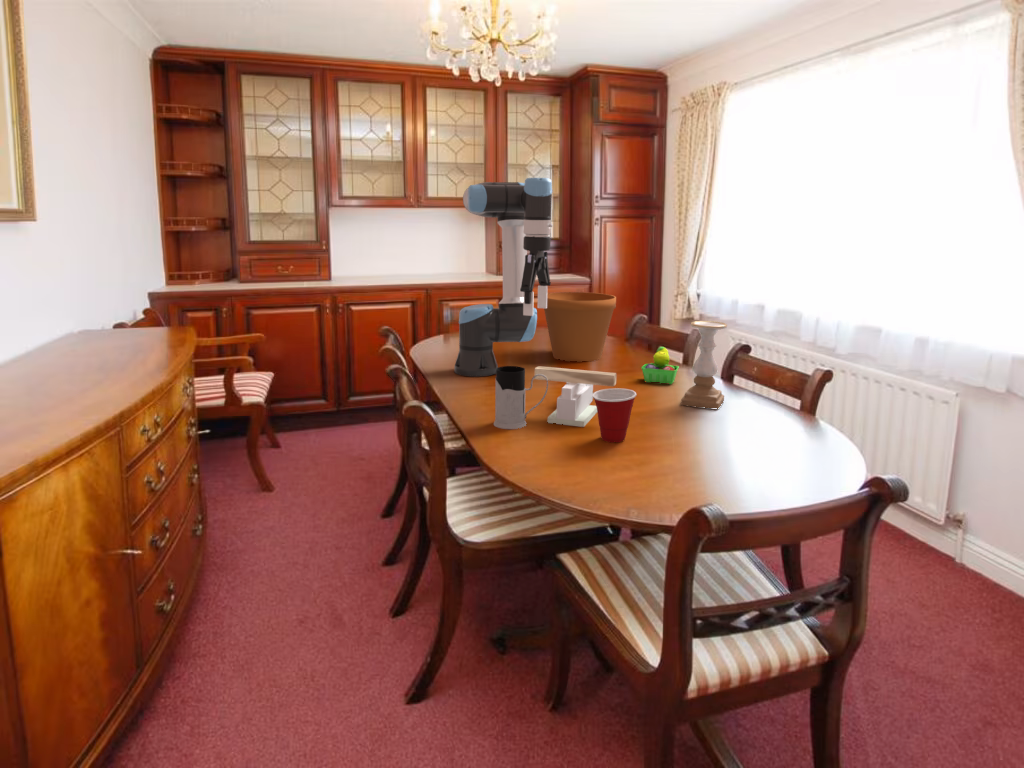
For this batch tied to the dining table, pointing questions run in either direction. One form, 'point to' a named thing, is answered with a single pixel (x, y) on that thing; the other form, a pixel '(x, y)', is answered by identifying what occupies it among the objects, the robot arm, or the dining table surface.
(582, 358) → the flowerpot
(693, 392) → the candle holder
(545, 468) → the dining table surface
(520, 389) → the glass holder
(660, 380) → the fruit basket
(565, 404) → the ridge stand
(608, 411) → the plastic cup
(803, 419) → the dining table surface
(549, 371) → the birch batten
